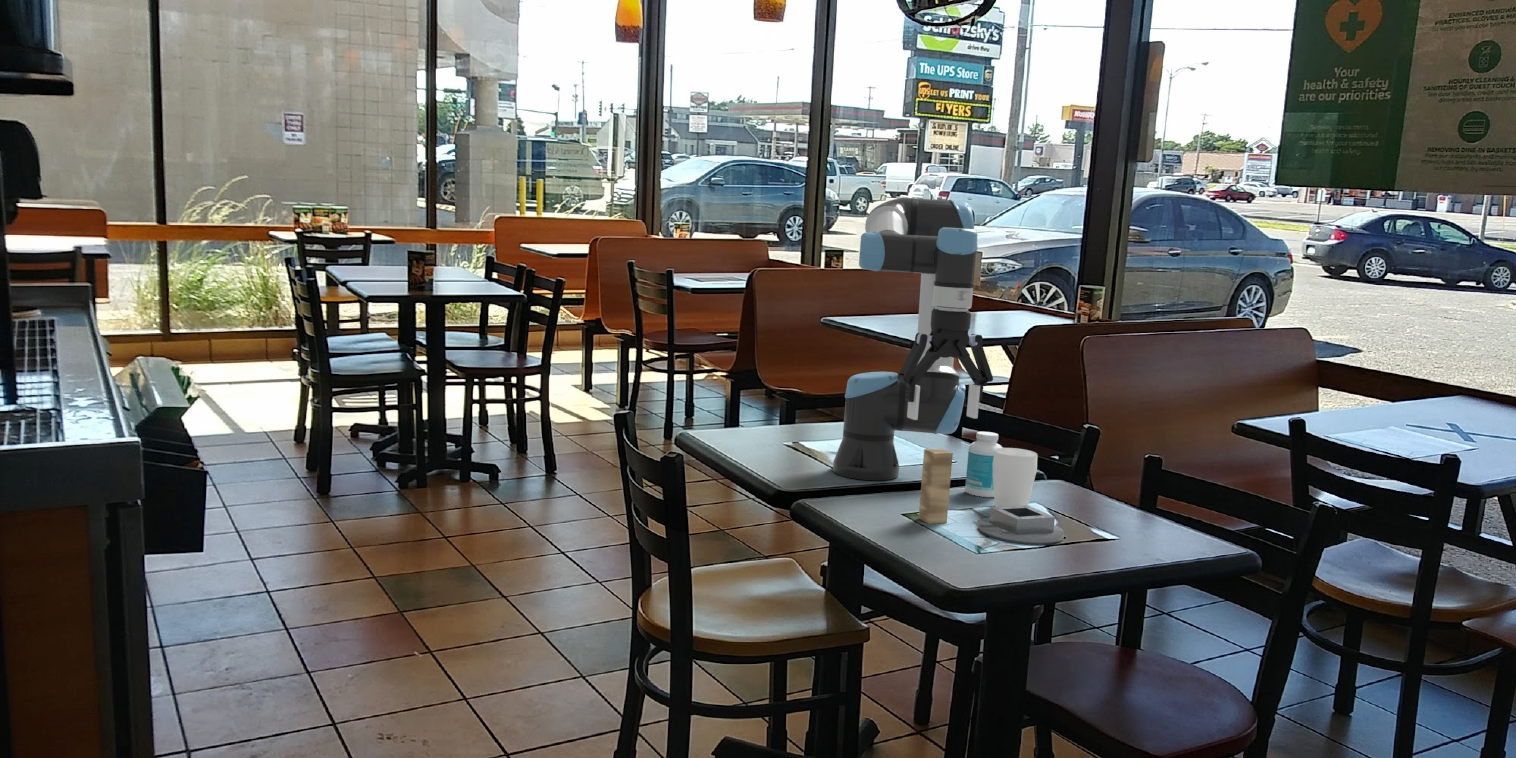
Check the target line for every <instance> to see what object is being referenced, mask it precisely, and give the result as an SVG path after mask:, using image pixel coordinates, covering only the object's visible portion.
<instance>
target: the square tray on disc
mask: <svg viewBox="0 0 1516 758" xmlns="http://www.w3.org/2000/svg"><path fill="white" fill-rule="evenodd" d="M1055 519H1056V516H1053V515H1052V514H1048V513H1046V512H1044V511H1042V510H1039V509H1037V508H1035V507H1032V506H1030V505H1029V504H1028V505H1026V506H1009V507H995V506H993V507H992V506H991V507H990V516H987V517H984V518H982V519H981V520H979V521H978V530H979V531H980V532H981V533H982V534H984V535H985V536H988V537H990V538H992V539H997V540H1000V541H1003V542H1009V543H1013V544H1021V545H1035V546H1036V545H1037V546H1038V545H1039V546H1041V545H1042V546H1043V545H1052V544H1057V543H1060V542H1062V541H1063V540H1064V537H1065V531H1064V530H1063V529H1062V528H1061V527H1060V526H1059V525H1056V524H1055Z"/></svg>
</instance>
